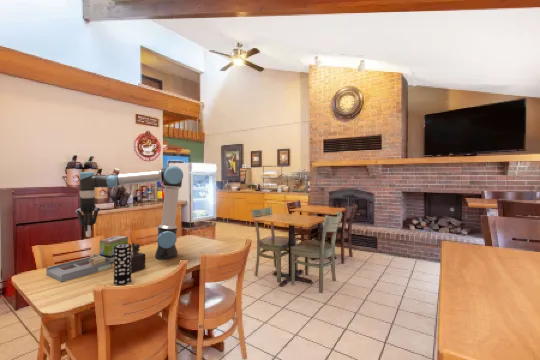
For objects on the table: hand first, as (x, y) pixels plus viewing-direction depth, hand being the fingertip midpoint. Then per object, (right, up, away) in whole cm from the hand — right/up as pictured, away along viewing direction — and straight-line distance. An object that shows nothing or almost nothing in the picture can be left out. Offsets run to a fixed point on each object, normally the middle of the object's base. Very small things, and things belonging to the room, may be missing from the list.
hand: (88, 236), depth 162 cm
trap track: (-5, -21, -1) cm, 21 cm away
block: (+3, -18, +4) cm, 19 cm away
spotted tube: (+30, -22, -16) cm, 40 cm away
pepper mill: (+27, -22, +2) cm, 35 cm away
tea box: (+3, -21, +22) cm, 30 cm away
